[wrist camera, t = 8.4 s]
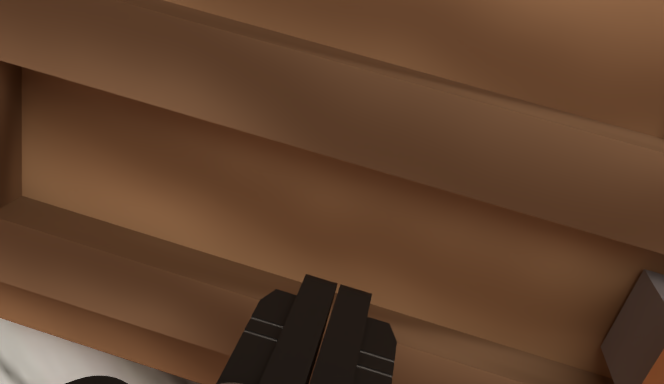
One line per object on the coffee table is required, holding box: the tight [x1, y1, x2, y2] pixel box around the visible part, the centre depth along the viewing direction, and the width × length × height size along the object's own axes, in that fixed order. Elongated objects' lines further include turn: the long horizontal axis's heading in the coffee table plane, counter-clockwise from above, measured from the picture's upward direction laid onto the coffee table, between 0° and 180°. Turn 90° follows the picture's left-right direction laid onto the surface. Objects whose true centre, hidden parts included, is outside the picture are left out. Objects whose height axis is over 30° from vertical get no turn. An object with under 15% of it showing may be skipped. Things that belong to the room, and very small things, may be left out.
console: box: [0, 0, 664, 384], centre depth 17 cm, size 16×28×4 cm, turn 76°
